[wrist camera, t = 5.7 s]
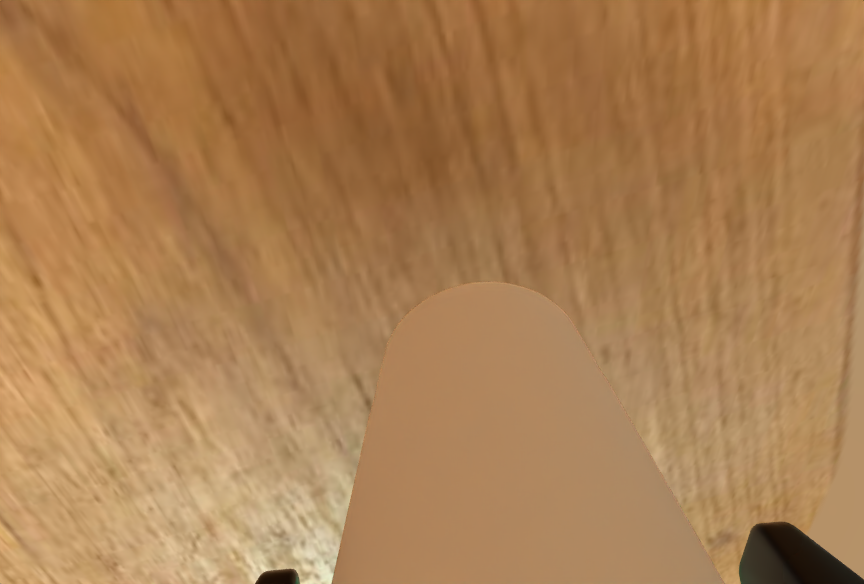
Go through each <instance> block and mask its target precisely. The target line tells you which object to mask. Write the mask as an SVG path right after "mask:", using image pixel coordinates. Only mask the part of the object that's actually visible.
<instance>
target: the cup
mask: <svg viewBox="0 0 864 584" xmlns="http://www.w3.org/2000/svg"><path fill="white" fill-rule="evenodd" d="M332 584H724V582H723V580H722V578H721V577H720V575H719V573H718V571H717V570H716V568H715V566H714V564H713V563H712V561H711V559H710V557H709V556H708V554H707V552H706V550H705V549H704V547H703V545H702V544H701V542H700V540H699V538H698V537H697V535H696V533H695V531H694V530H693V528H692V526H691V524H690V523H689V521H688V519H687V517H686V516H685V514H684V512H683V510H682V509H681V507H680V505H679V503H678V502H677V500H676V498H675V496H674V495H673V493H672V491H671V489H670V488H669V486H668V484H667V482H666V481H665V479H664V477H663V476H662V474H661V472H660V470H659V469H658V467H657V465H656V463H655V462H654V460H653V458H652V456H651V455H650V453H649V451H648V449H647V448H646V446H645V444H644V442H643V441H642V439H641V437H640V435H639V434H638V432H637V430H636V429H635V427H634V425H633V423H632V422H631V420H630V418H629V416H628V415H627V413H626V411H625V409H624V408H623V406H622V404H621V402H620V401H619V399H618V397H617V396H616V394H615V392H614V390H613V389H612V387H611V385H610V384H609V382H608V380H607V379H606V377H605V376H604V374H603V373H602V372H601V370H600V368H599V366H598V365H597V363H596V361H595V359H594V358H593V356H592V354H591V352H590V351H589V349H588V347H587V346H586V344H585V342H584V340H583V339H582V337H581V336H580V334H579V332H578V331H577V329H576V327H575V325H574V324H573V322H572V321H571V319H570V318H569V316H568V315H567V314H566V313H565V312H564V311H563V310H562V309H561V308H560V307H559V306H558V305H557V304H555V303H554V302H553V301H551V300H550V299H548V298H547V297H545V296H543V295H542V294H540V293H538V292H535V291H533V290H531V289H528V288H525V287H522V286H518V285H514V284H509V283H502V282H476V283H468V284H463V285H459V286H455V287H452V288H449V289H446V290H443V291H441V292H439V293H436V294H434V295H432V296H431V297H429V298H427V299H425V300H424V301H422V302H421V303H420V304H418V305H417V306H416V307H414V308H413V309H412V310H411V311H410V312H409V313H408V314H407V315H406V316H405V317H404V318H403V319H402V320H401V321H400V323H399V324H398V325H397V327H396V328H395V330H394V331H393V333H392V335H391V337H390V339H389V341H388V344H387V346H386V350H385V354H384V359H383V363H382V366H381V371H380V375H379V379H378V384H377V388H376V393H375V397H374V402H373V405H372V408H371V411H370V415H369V419H368V424H367V428H366V432H365V437H364V441H363V446H362V450H361V455H360V459H359V464H358V468H357V473H356V477H355V481H354V486H353V490H352V495H351V499H350V504H349V508H348V513H347V517H346V522H345V526H344V531H343V535H342V540H341V544H340V549H339V553H338V558H337V562H336V567H335V571H334V576H333V580H332Z"/></svg>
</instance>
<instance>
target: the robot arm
mask: <svg viewBox="0 0 864 584" xmlns="http://www.w3.org/2000/svg"><path fill="white" fill-rule="evenodd" d="M739 576H740V581H741V584H864V580H863V579H862V578H861V577H860V576H858V575H857V574H856V573H854V572H853V571H852V570H851V569H849V568H848V567H847V566H845V565H844V564H843V563H842V562H840V561H839V560H838V559H836V558H835V557H834V556H832V555H831V554H830V553H829V552H827V551H826V550H825V549H823V548H822V547H821V546H820V545H818V544H817V543H816V542H814V541H813V540H812V539H810V538H809V537H808V536H807V535H805V534H804V533H803V532H801V531H800V530H799V529H797V528H796V527H795V526H793V525H791V524H789V523H787V522H771V523H761V524H756V525H755V526H754V527H753V528H752V529H751V531H750V534H749V537H748V540H747V543H746V546H745V549H744V552H743V555H742V558H741V561H740V566H739ZM255 584H300V582H299V577H298V573H297V572H296V570H294V569H283V570H273V571H266V572H264V573H262V574H261V575H260V577H259V578H258V580H257V581H256V583H255Z"/></svg>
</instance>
